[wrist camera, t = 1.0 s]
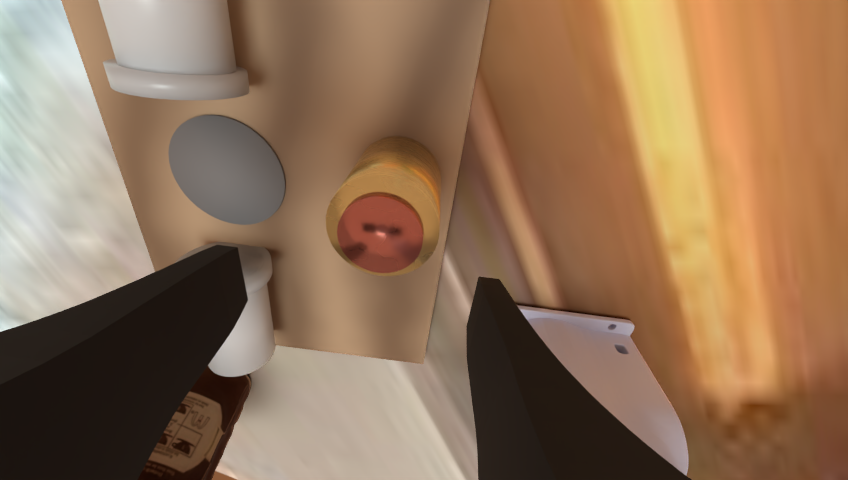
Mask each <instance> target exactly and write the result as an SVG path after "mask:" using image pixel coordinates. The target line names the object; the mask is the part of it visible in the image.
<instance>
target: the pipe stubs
mask: <svg viewBox="0 0 848 480" xmlns="http://www.w3.org/2000/svg"><path fill="white" fill-rule="evenodd" d="M98 2H99V5H100V8H101V12H102V15H103V18H104V22H105V25H106V28H107V31H108V35H109V38H110V41H111V45H112V48H113V51H114V55H115V59H109V60H106V61H104V62H103V65H104V68H105V71H106V74H107V77H108V80H109V84H110V87H111V88H112V89H113V90H115V91H118V92H121V93H124V94H129V95H134V96H140V97H147V98H156V99H169V100H219V99H229V98H236V97H241V96H244V95H247V94H248V93H249V92H250V89H249V81H248V74H247V70H246V69H244V68H241V67H237V66H236V61H235V54H234V47H233V40H232V33H231V26H230V19H229V12H228V5H227V0H98ZM215 245H224V246H232V247H238V251H239V256H240V261H241V266H242V271H243V276H244V281H245V286H246V291H247V296H248V302H247V304H246V306H245V308H244V310H243V312H242V314H241V316H240V318H239V319H238V321H237V323H236V325H235V327H234V329H233V330H232V332H231V333H230V335H229V336H228V338H227V339H226V340H225V342H224V343H223V345H222V346H221V348H220V349H219V350H218V352H217V353H216V355H215V356H214V358H213V359H212V360H211V362H210V363H209V365H208V366H209V368H210V369H211V370H212V371H213V372H214V373H216V374H218V375H221V376H225V377H236V376H242V375H246V374H249V373H251V372H254V371H255V370H257V369H259V368H260V367H262V366H263V365H264V364H266V363H267V362H268V361H269V359H270V358H271V357H272V355H273V353H274V351H275V346H276V344H275V336H274V329H273V322H272V315H271V308H270V301H269V294H268V287H267V282H268V281H269V280H270V278H271V276H272V271H273V270H272V262H271V256H270V253H269V252H268V250H267V249H265V248H264V247H257V246H250V245H242V244H234V243H227V242H215V243H210V244H207V245H203V246H200V247H198V248H195V249H193V250H191V251H189V252H188V253H186V254H184V255H183V256H182V257H180V258H179V259H178V260H177V261H176V262H178V261H180V260H182V259H185V258H187V257H189V256H191V255H193V254H196V253H198V252H200V251H202V250H205V249H207V248H210V247H212V246H215ZM176 262H175V263H176Z"/></svg>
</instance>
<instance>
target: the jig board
mask: <svg viewBox="0 0 848 480" xmlns="http://www.w3.org/2000/svg"><path fill="white" fill-rule="evenodd" d="M61 1H62V4H63V6H64V9H65V12H66V15H67V18H68V21H69V24H70V27H71V29H72V32H73V35H74V38H75V41H76V44H77V47H78V50H79V53H80V55H81V58H82V61H83V64H84V67H85V70H86V73H87V76H88V79H89V81H90V84H91V87H92V90H93V93H94V96H95V99H96V102H97V105H98V107H99V110H100V113H101V116H102V119H103V122H104V125H105V128H106V131H107V133H108V136H109V139H110V142H111V145H112V148H113V151H114V154H115V157H116V159H117V162H118V165H119V168H120V171H121V174H122V177H123V180H124V183H125V185H126V188H127V191H128V194H129V197H130V200H131V203H132V206H133V209H134V211H135V214H136V217H137V220H138V223H139V226H140V229H141V232H142V235H143V237H144V240H145V243H146V246H147V249H148V252H149V255H150V258H151V261H152V263H153V266H154V269H155V272H156V271H159V270H161V269H163V268H165V267H167V266H169V265H172V264H174V263H175V262H176V261H177V260H178V259H179V258H180V257H182V256H183V255H184V254H186V253H188V252H189V251H191V250H193V249H195V248H198V247H200V246H203V245H207V244H210V243H215V242H227V243H234V244H242V245H250V246H257V247H264V248H265V249H267V250H268V252H269V253H270V256H271V262H272V270H273V271H272V276H271V278H270V280H269V281H268V282H267V287H268V294H269V301H270V308H271V315H272V322H273V329H274V336H275V344H276V345H279V346H287V347H295V348H302V349H310V350H318V351H326V352H334V353H341V354H349V355H357V356H365V357H373V358H381V359H388V360H396V361H404V362H412V363H420V364H423V362H424V357H425V351H426V346H427V340H428V335H429V330H430V324H431V319H432V313H433V308H434V302H435V297H436V291H437V286H438V281H439V275H440V270H441V264H442V259H443V253H444V248H445V242H446V237H447V232H448V226H449V221H450V215H451V210H452V204H453V199H454V193H455V188H456V183H457V177H458V172H459V166H460V161H461V155H462V150H463V144H464V139H465V134H466V128H467V123H468V117H469V112H470V106H471V101H472V96H473V90H474V85H475V79H476V74H477V68H478V63H479V57H480V52H481V47H482V41H483V36H484V30H485V25H486V19H487V14H488V8H489V3H490V0H227V5H228V12H229V19H230V26H231V33H232V40H233V47H234V54H235V61H236V66H237V67H241V68H244V69H246V70H247V74H248V81H249V89H250V92H249V93H248V94H247V95H244V96H241V97H236V98H229V99H219V100H169V99H156V98H147V97H140V96H134V95H129V94H124V93H121V92H118V91H115V90H113V89H112V88H111V87H110V84H109V80H108V77H107V74H106V71H105V68H104V65H103V62H104V61H106V60H109V59H115V55H114V51H113V48H112V45H111V41H110V38H109V35H108V31H107V28H106V25H105V22H104V18H103V15H102V12H101V8H100V5H99V2H98V0H61ZM202 115H221V116H226V117H230V118H233V119H236V120H238V121H240V122H242V123H244V124H246V125H247V126H249V127H251V128H252V129H253V130H255V131H256V132H257V133H259V134H260V135H261V136H262V137H263V138H264V139H265V140H266V141H267V142H268V143H269V145H270V146H271V147H272V148H273V150H274V151H275V153H276V154H277V156H278V158H279V160H280V162H281V164H282V167H283V170H284V174H285V180H286V190H285V196H284V199H283V202H282V204H281V206H280V207H279V208H278V210H277V211H276V212H275V213H274V214H273V215H272V216H271V217H269V218H268V219H266V220H264V221H262V222H259V223H256V224H250V225H239V224H232V223H228V222H224V221H221V220H219V219H217V218H214V217H212V216H211V215H209V214H207V213H206V212H204V211H202V210H201V209H200V208H198V207H197V206H196V205H195V204H194V203H193V202H192V201H190V200H189V198H188V197H187V196H186V195H185V194H184V193H183V191H182V190H181V189H180V187H179V185H178V184H177V182H176V180H175V178H174V176H173V174H172V171H171V168H170V163H169V154H168V152H169V144H170V140H171V138H172V136H173V134H174V132H175V131H176V129H177V128H178V127H179V126H180V125H181V124H182V123H184V122H186V121H187V120H189V119H192V118H194V117H197V116H202ZM391 136H402V137H407V138H411V139H414V140H416V141H418V142H420V143H421V144H423V145H424V146H425V147H426V148H428V149H429V150H430V152H431V153H432V154H433V155H434V157H435V158H436V160H437V162H438V165H439V168H440V172H441V198H440V229H439V239H438V243H437V246H436V248H435V251H434V252H433V254H432V255H431V257H430V258H429V259H428V260H427V261H426V262H425V263H424V264H423V265H422V266H420V267H419V268H417V269H415V270H413V271H411V272H409V273H406V274H402V275H397V276H378V275H373V274H369V273H366V272H363V271H361V270H359V269H357V268H355V267H353V266H352V265H350V264H349V263H347V262H346V261H345V260H344V259H343V258H342V257H341V256H340V255H339V254H338V253H337V252H336V250H335V249H334V248H333V246H332V244H331V242H330V240H329V237H328V234H327V230H326V213H327V209H328V206H329V204H330V202H331V200H332V198H333V197H334V195H335V194H336V192H337V191H338V189H339V188H340V187H341V185H342V184H343V182H344V181H345V179H346V178H347V176H348V175H349V173H350V172H351V170H352V169H353V167H354V166H355V165H356V163H357V162H358V160H359V159H360V157H361V156H362V154H363V153H364V152H365V150H366V149H367V148H368V147H369V146H370V145H372V144H373V143H374V142H376V141H378V140H380V139H383V138H386V137H391Z"/></svg>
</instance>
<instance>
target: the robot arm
mask: <svg viewBox="0 0 848 480" xmlns="http://www.w3.org/2000/svg"><path fill="white" fill-rule="evenodd" d="M247 302H248V296H247V291H246V286H245V281H244V276H243V271H242V266H241V261H240V256H239V251H238V247H232V246H224V245H215V246H212V247H210V248H207V249H205V250H202V251H200V252H198V253H196V254H193V255H191V256H189V257H187V258H185V259H182V260H180V261H178V262H176V263H174V264H172V265H169V266H167V267H165V268H163V269H161V270H159V271H156V272H154V273H152V274H150V275H148V276H146V277H143V278H141V279H139V280H137V281H134V282H132V283H130V284H127V285H125V286H123V287H120V288H118V289H116V290H113V291H111V292H109V293H106V294H104V295H102V296H99V297H97V298H94V299H92V300H90V301H87V302H85V303H82V304H80V305H77V306H74V307H72V308H69V309H66V310H64V311H61V312H58V313H55V314H53V315H50V316H47V317H44V318H41V319H39V320H36V321H33V322H30V323H27V324H24V325H21V326H18V327H15V328H12V329H8V330H5V331H2V332H0V480H138V478H139V476H140V474H141V472H142V470H143V469H144V467H145V465H146V463H147V461H148V459H149V457H150V456H151V454H152V452H153V450H154V448H155V447H156V445H157V443H158V441H159V440H160V438H161V436H162V434H163V433H164V431H165V429H166V427H167V426H168V424H169V422H170V421H171V419H172V417H173V415H174V414H175V412H176V411H177V409H178V407H179V406H180V404H181V403H182V401H183V400H184V398H185V397H186V395H187V394H188V393H189V391H190V390H191V388H192V387H193V386H194V384H195V383H196V381H197V380H198V379H199V377H200V376H201V374H202V373H203V372H204V370H205V369H206V367H207V366H208V365H209V363H210V362H211V360H212V359H213V358H214V356H215V355H216V353H217V352H218V350H219V349H220V348H221V346H222V345H223V343H224V342H225V340H226V339H227V338H228V336H229V335H230V333H231V332H232V330H233V329H234V327H235V325H236V323H237V321H238V319H239V318H240V316H241V314H242V312H243V310H244V308H245V306H246V304H247ZM611 324H613V325H611ZM609 325H610V326H609ZM634 328H635V327H634V325H633V323H632V322H631V321H630V320H625V319H617V318H610V317H602V316H594V315H587V314H579V313H572V312H564V311H557V310H549V309H541V308H534V307H526V306H519V305H516V303H515V302H514V300H513V299H512V297H511V296H510V294H509V293H508V291H507V290H506V288H505V287H504V285H503V284H502V283H501V281H500V280H499V279H493V278H485V277H479V278H478V282H477V286H476V290H475V294H474V299H473V303H472V307H471V311H470V315H469V319H468V323H467V363H468V371H469V379H470V387H471V395H472V403H473V411H474V419H475V427H476V437H477V449H478V479H479V480H691V479H690V478H688V477H687V476H686V475H687V471H688V449H687V443H686V439H685V434H684V431H683V428H682V425H681V422H680V420H679V418H678V415H677V414H676V412H675V410H674V408H673V406H672V405H671V403H670V401H669V400H668V398H667V396H666V395H665V393H664V391H663V390H662V388H661V387H660V385H659V383H658V382H657V380H656V378H655V377H654V375H653V373H652V372H651V370H650V368H649V367H648V365H647V363H646V362H645V360H644V358H643V357H642V355H641V354H640V352H639V350H638V349H637V347H636V345H635V344H634V342H633V340H632V339H631V337H630V335H631V333H632V332H633V330H634Z"/></svg>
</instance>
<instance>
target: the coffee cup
mask: <svg viewBox="0 0 848 480" xmlns="http://www.w3.org/2000/svg"><path fill="white" fill-rule="evenodd" d="M250 388H251V382H250V378H249V377H248V376H247V375H242V376H236V377H225V376H221V375H218V374H216V373H214V372H213V371H212V370H211V369H210V368H209V366H207V367H206V369H205V370H204V372H203V373H202V374H201V376H200V377H199V379H198V380H197V381H196V383H195V384H194V386H193V387H192V388H191V390H190V391H189V393H188V394H187V395H186V397H185V398H184V400H183V401H182V403H181V404H180V406H179V407H178V409H177V411H176V412H175V414H174V415H173V417H172V419H171V421H170V422H169V424H168V426H167V427H166V429H165V431H164V433H163V434H162V436H161V438H160V440H159V441H158V443H157V445H156V447H155V448H154V450H153V452H152V454H151V456H150V457H149V459H148V461H147V463H146V465H145V467H144V469H143V470H142V472H141V474H140V476H139V478H138V480H212V478H213V475H214V472H215V469H216V467H217V466H218V464H219V461H220V459H221V457H222V455H223V452H224V450H225V447H226V445H227V443H228V441H229V439H230V437H231V435H232V432H233V429H234V424H235V423H236V422H237V421H238V419H239V417H240V414H241V412H242V409H243V404H244V402H245V401H246V399H247V397H248V394H249V391H250Z"/></svg>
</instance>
